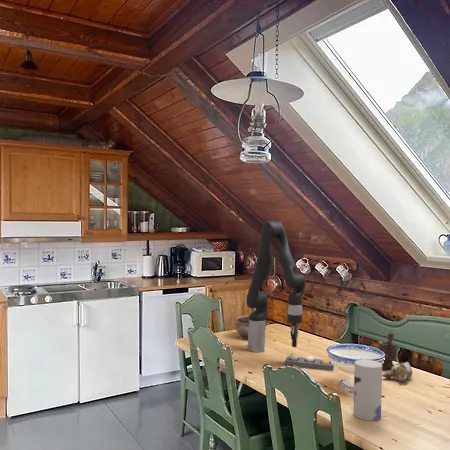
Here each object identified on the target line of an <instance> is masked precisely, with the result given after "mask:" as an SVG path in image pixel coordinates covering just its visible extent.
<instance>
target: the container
mask: <svg viewBox="0 0 450 450" xmlns="http://www.w3.org/2000/svg"><path fill="white" fill-rule="evenodd" d="M382 375H383V369H382V362H379V361H376V360H372V359H357V360H356V361H354V380H353V381H354V382H353V415H354V416H355V418H358V419H361V420H363V419H364V420H363V421H369V422H370V421H373V422H374V421H378V420H380V419H381V418H382V394H383V393H382V391H383V390H382V389H383V387H382V384H383V376H382Z"/></svg>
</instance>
